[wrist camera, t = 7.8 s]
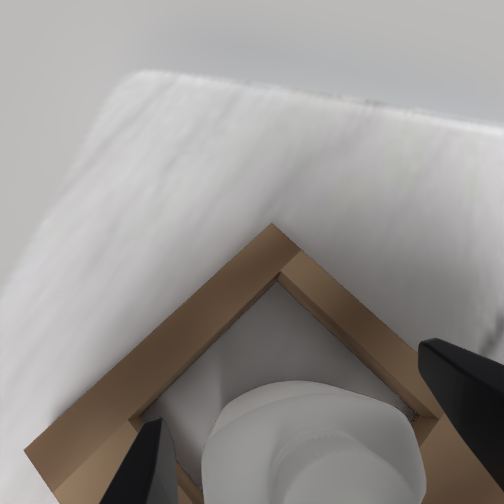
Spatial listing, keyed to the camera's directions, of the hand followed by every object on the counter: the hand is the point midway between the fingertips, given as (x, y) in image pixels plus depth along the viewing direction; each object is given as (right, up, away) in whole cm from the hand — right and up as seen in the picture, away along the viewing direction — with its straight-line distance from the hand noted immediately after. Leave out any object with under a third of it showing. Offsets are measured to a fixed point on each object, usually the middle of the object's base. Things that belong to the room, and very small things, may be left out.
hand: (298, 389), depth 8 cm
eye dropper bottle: (0, -4, +7) cm, 9 cm away
